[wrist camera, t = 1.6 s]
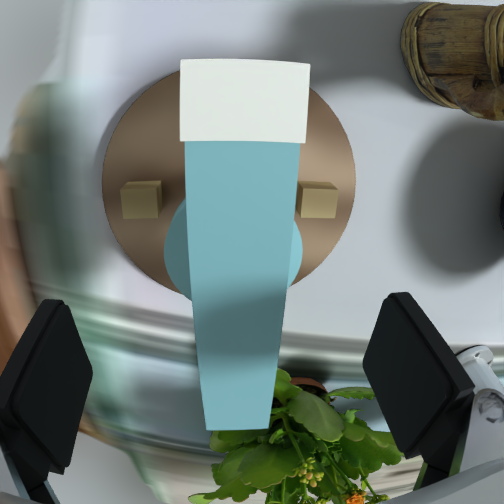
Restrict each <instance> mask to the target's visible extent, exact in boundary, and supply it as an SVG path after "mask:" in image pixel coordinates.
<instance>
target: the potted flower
mask: <svg viewBox="0 0 504 504" xmlns="http://www.w3.org/2000/svg"><path fill="white" fill-rule="evenodd" d="M330 396H342V397H344V398H347V399H349V398H350V397H353V398H354V399H355V398H358V399H360V400H361V399H363V397H365V398H367V399H370V400H372V399H373V397H376V396H375V394H374V392H373V390H372V388H367V387H347V388H341V389H336V390H333V391H331V392H327V391H326V389H325V387H324V386H323V385H322V384H320V383H319V382H317V381H315V380H313V379H311V378H304V377H290V376H289V374H288V373H287V372H286V371H284V370H282V369H279V368H278V367H277V371H276V379H275V386H274V393H273V400H272V407H271V413H270V420H269V426H268V428H265V429H246V430H214V431H213V432H212V436H211V437H210V441H211V442H210V443H209V446H210V448H211V449H212V450H213V451H216V452H220V453H225V452H227V451H228V453H227V454H226V457H225V459H224V461H223V462H222V463H219V464H218V463H215V464H212V465H211V467H212V472H213V478H214V480H215V483H216V484H217V485H219V486H220V485H221V487H220V488H219V489H218V490H216V492H212V493H198V494H194V495H191V496H189V497H188V500H189V501H190V502H191V503H193V504H209V503H210V502H211V501H213V500H214V499H216V498H219V499H220V500H224V499H226V498H228V497H232V499H233V501H235V502H243V501H245V500H246V499H248V498H249V494H255V493H256V491H257V489H259V490H261V491H262V492H264V493H267V497H266V501H265V504H311V503H313V504H319V503H321V504H326V502H328V501H330V500H331V499H332V501H333V503H334V504H364V501H365V500H368V501H370V502H367V503H365V504H376V503H379V502H382V501H386V500H389V498H388V496H387V495H376V494H375V492H374V491H373V489H372V488H371V486H370V485H369V483H368V481H367V479H366V478H367V477H368V475H369V473H373V472H375V471H377V470H379V469H380V468H381V466H382V463H385V464H386V465H388V466H389V465H390V464H391V465H395V464H398V463H399V462H400V461H401V457H400V456H401V455H402V456H403V457H405V456H404V453H401V452H400V451H399V450H398V449H397V446H396V444H395V441H394V439H393V436H392V434H391V432H381V431H373V430H372V429H370V428H369V427H367V423H366V422H365V421H363V420H360V419H359V418H357V417H355V414H354V413H355V412H357V411H358V410H359V409H350V410H347V411H346V413H345V414H343V413H340V412H337V411H335V410H334V406H332V405H330V402H333V401H334V400H336V399H337V397H335V398H334V399H331V398H330ZM359 411H364V410H359ZM359 474H360V475H361V477H362V478H361V480H360V481H362V484H361V487H362V490H363V491H362V490H361V489H359V488H358V486H357V485H356V484H354V483H352V482H351V481H350V480H349V479H348V478H351V479H353V480H356V479H358V478H359ZM345 475H346V476H347V477H348V478H347V477H346V476H345ZM367 486H368V488H369V489H370V491H371V492H372V494H373V497H372V496H368V495H366V491H364V490H365V489H366V487H367ZM306 488H308V492H310V493H312V494H314V495H315V496H317V497H318V496H319V497H318V499H317V501H316V502H315V500H314V499H313V498H312V497H310V496H308V495H307V491H306ZM271 490H272V491H271ZM270 493H271V495H270ZM298 495H299V496H298ZM300 496H302V499H301V501H300V499H299V497H300ZM377 497H378V498H377ZM371 498H372V499H371ZM375 499H376V500H375ZM309 500H310V501H311V503H310V501H309ZM298 501H300V502H299V503H298ZM306 501H307V503H306Z"/></svg>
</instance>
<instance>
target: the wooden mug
mask: <svg viewBox="0 0 504 504" xmlns="http://www.w3.org/2000/svg"><path fill="white" fill-rule="evenodd" d="M401 50H402V54H403V58H404V61H405V64H406V66H407V68H408V70H409V72H410V74H411V76H412V78H413V80H414V82H415V84H416V85H417V87H418V88H419V89H420V91H421V92H422V93H423V94H425V95H426V96H427V97H428V98H429V99H431V100H432V101H434V102H436V103H438V104H439V105H442V106H445V107H448V108H452V109H462V110H463V111H465V112H466V113H468V114H470V115H473V116H475V117H477V118H482V119H487V120H493V121H504V4H502V5H499V6H482V5H454V4H449V3H440V2H427V3H424V4H422V5H419V6H418V7H416V8H415V9H414V10H413V11H411V12H410V14H409V15H408V17H407V18H406V20H405V23H404V25H403V28H402V31H401Z"/></svg>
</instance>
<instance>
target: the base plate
mask: <svg viewBox="0 0 504 504" xmlns="http://www.w3.org/2000/svg"><path fill="white" fill-rule="evenodd" d="M355 185H356V176H355V164H354V158H353V153H352V149H351V146H350V143H349V140H348V138H347V135H346V133H345V131H344V129H343V127H342V125H341V123H340V121H339V119H338V118H337V116H336V115H335V114H334V112H333V111H332V109H331V108H330V107H329V105H328V104H327V103H326V102H325V101H324V100H323V99H322V98H321V97H320V96H319V95H318V94H317V93H316V92H315V91H313V90H312V89H311V88H310V87H309V97H308V113H307V128H306V141H305V143H300V155H299V168H298V180H297V192H296V203H295V214H294V221H295V223H296V225H297V227H298V230H299V232H300V235H301V239H302V247H303V252H302V261H301V265H300V268H299V271H298V273H297V275H296V277H295V279H294V281H293V282H292V284H291V285H290V286H292V285H293V284H295V283H297V282H299V281H300V280H301V279H303V278H304V277H306V276H307V275H308V274H310V273H311V272H312V271H313V270H314V269H315V268H317V267H318V266H319V265H320V264H321V263H322V262H323V261H324V259H325V258H326V257H327V256H328V255H329V254H330V253H331V251H332V250H333V248H334V247H335V245H336V244H337V242H338V241H339V239H340V237H341V235H342V234H343V232H344V230H345V228H346V225H347V223H348V220H349V217H350V214H351V211H352V207H353V202H354V197H355ZM102 193H103V201H104V206H105V211H106V215H107V218H108V221H109V224H110V227H111V229H112V231H113V233H114V235H115V237H116V239H117V241H118V243H119V244H120V246H121V247H122V249H123V250H124V252H125V253H126V254H127V255H128V257H129V258H130V259H131V260H132V261H133V262H134V263H135V265H136V266H138V267H139V268H140V269H141V270H142V271H143V272H144V273H145V274H146V275H148V276H149V277H151V278H152V279H154V280H155V281H156V282H158V283H159V284H161V285H163V286H165V287H167V288H169V289H171V290H173V291H175V292H178V293H180V294H182V293H181V292H180V291H179V290H178V289H177V288H176V286H175V285H174V283H173V282H172V280H171V278H170V276H169V274H168V272H167V269H166V266H165V261H164V244H165V239H166V235H167V232H168V229H169V227H170V224H171V221H172V218H173V216H174V214H175V211H176V210H177V208H178V206H179V205H180V203H181V202H182V201H183V200H184V199H185V197H186V184H185V141H180V71H177V72H175V73H173V74H171V75H169V76H167V77H166V78H164V79H162V80H160V81H159V82H157V83H156V84H155V85H153V86H152V87H150V88H149V89H148V90H146V91H145V92H144V93H143V94H142V95H141V96H140V97H139V98H138V99H137V100H136V101H135V102H134V103H133V104H132V105H131V106H130V108H129V109H128V110H127V112H126V113H125V114H124V115H123V117H122V118H121V120H120V122H119V123H118V125H117V127H116V129H115V131H114V132H113V135H112V137H111V140H110V142H109V145H108V148H107V151H106V156H105V160H104V164H103V174H102ZM290 286H289V287H290Z"/></svg>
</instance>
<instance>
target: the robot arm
mask: <svg viewBox="0 0 504 504" xmlns="http://www.w3.org/2000/svg"><path fill="white" fill-rule="evenodd" d="M492 362H493V353H492V351H491V350H490V349H489V348H488V347H486V346H476V347H473V348H470V349H468V350H466V351H464V352H462V353H460V354H459V355H457V356H455V354H454V353H453V351H452V350H451V349H450V347H449V346H448V344H447V343H446V342H445V340H444V339H443V337H442V336H441V335H440V333H439V332H438V330H437V329H436V328H435V326H434V325H433V324H432V322H431V321H430V319H429V318H428V317H427V315H426V314H425V313H424V311H423V310H422V309H421V308H420V306H419V305H418V304H417V302H416V301H415V300H414V298H413V297H412V296H411V294H409V293H408V292H398V293H391V294H389V295H388V297H387V298H386V299H384V301H383V303H382V306H381V309H380V312H379V315H378V319H377V322H376V325H375V327H374V330H373V333H372V336H371V339H370V342H369V345H368V347H367V350H366V353H365V355H364V358H363V369H364V372H365V374H366V376H367V378H368V380H369V383H370V385H371V387H372V390H373V392H374V394H375V396H376V399H377V401H378V403H379V406H380V408H381V410H382V413H383V415H384V417H385V420H386V422H387V424H388V427H389V429H390V432H391V434H392V436H393V439H394V441H395V444H396V446H397V449H398V450H399V451H400V452H401V453H404V456H405V458H406V460H407V459H410V458H413V457H416V456H419V455H422V458H423V460H424V462H423V464H422V467H421V470H420V473H419V476H418V478H417V481H416V484H415V486H414V489H413V491H412V492H410V493H407V494H404V495H401V496H398V497H395V498H392V499H389V500H386V501H382V502H379V503H376V504H504V387H503V385H502V384H501V382H500V381H499V379H498V378H497V376H496V375H495V373H494V372H493V371H492V369H491V365H492ZM92 376H93V370H92V366H91V364H90V361H89V359H88V356H87V354H86V351H85V349H84V346H83V344H82V341H81V339H80V336H79V333H78V330H77V328H76V325H75V322H74V319H73V316H72V314H71V311H70V308H69V306H68V305H65V304H64V302H63V301H62V300H54V299H45V300H43V301H42V303H41V304H40V306H39V308H38V309H37V311H36V312H35V314H34V316H33V317H32V319H31V321H30V323H29V324H28V326H27V328H26V329H25V331H24V333H23V335H22V336H21V338H20V340H19V342H18V344H17V345H16V347H15V349H14V351H13V353H12V355H11V357H10V359H9V361H8V362H7V365H6V367H5V369H4V371H3V372H2V374H1V376H0V504H60V502H59V500H58V499H57V497H56V495H55V493H54V491H53V489H52V488H51V486H50V484H49V482H48V480H47V477H48V473H49V472H53V473H57V474H61V475H63V474H64V470H65V467H68V466H69V465H70V462H71V457H72V453H73V448H74V444H75V440H76V436H77V432H78V428H79V424H80V420H81V416H82V412H83V408H84V405H85V401H86V398H87V394H88V391H89V387H90V384H91V380H92Z"/></svg>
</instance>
